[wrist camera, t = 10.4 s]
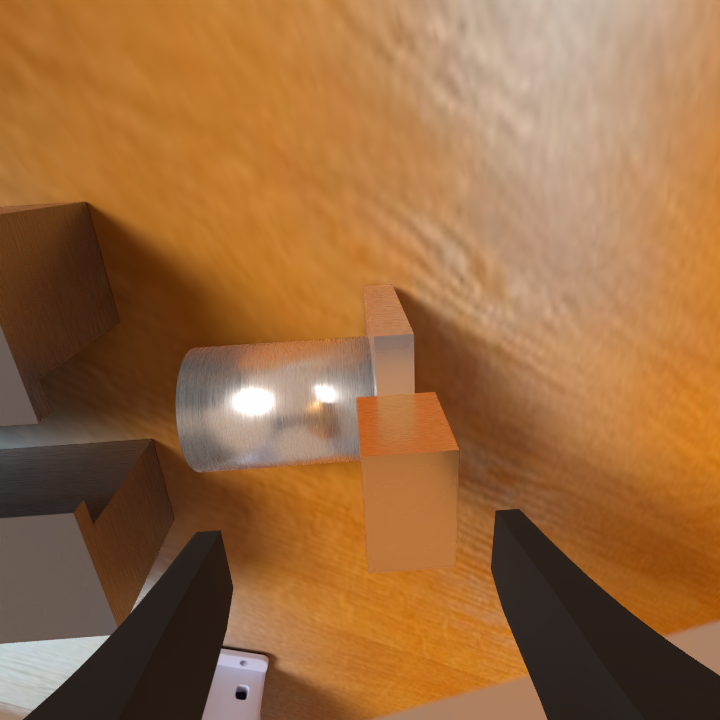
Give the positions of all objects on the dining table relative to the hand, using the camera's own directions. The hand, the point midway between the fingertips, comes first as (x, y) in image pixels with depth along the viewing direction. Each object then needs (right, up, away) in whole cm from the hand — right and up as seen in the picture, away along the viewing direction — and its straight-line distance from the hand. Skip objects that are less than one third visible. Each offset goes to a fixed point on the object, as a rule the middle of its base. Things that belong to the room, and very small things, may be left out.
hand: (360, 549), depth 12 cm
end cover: (-2, +4, +9) cm, 10 cm away
